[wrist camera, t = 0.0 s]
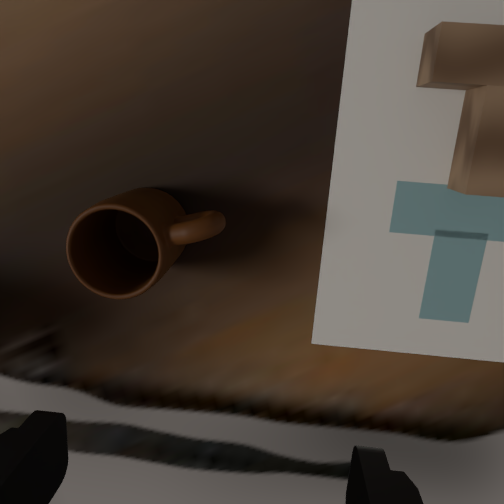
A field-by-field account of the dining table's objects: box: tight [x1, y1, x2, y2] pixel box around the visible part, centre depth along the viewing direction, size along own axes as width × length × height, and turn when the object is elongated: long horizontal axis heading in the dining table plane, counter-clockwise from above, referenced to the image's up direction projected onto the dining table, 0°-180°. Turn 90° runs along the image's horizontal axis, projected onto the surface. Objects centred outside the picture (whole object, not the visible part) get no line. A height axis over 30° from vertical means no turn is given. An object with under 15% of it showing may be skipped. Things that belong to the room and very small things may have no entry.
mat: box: [311, 0, 504, 362], centre depth 38 cm, size 32×24×1 cm
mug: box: [66, 188, 226, 299], centre depth 36 cm, size 12×8×9 cm, turn 105°
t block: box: [416, 21, 504, 197], centre depth 34 cm, size 12×12×4 cm
